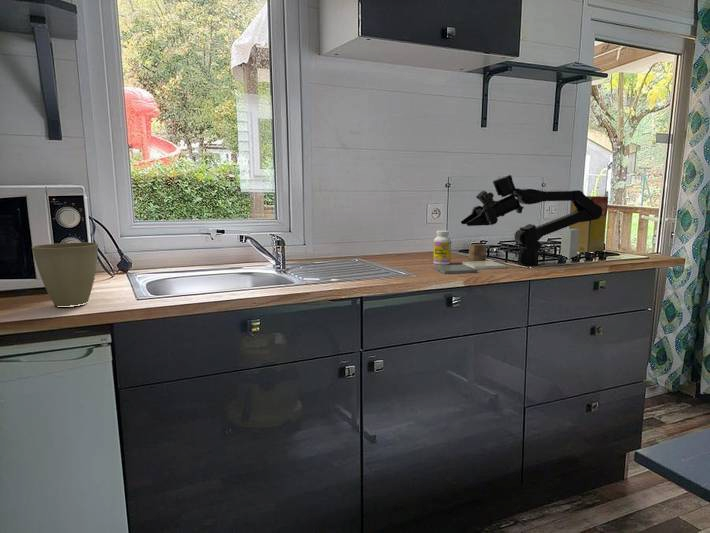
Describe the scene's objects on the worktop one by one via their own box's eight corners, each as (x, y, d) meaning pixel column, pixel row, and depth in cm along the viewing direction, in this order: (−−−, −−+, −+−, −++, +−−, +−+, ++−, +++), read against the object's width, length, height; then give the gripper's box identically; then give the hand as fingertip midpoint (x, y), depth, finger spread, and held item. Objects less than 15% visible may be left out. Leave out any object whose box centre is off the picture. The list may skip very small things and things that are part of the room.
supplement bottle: (431, 264, 191) (431, 231, 189) (436, 262, 196) (437, 230, 194) (447, 265, 187) (448, 232, 185) (452, 263, 193) (453, 230, 191)
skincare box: (567, 257, 206) (569, 228, 204) (577, 258, 202) (579, 229, 200) (559, 258, 202) (561, 229, 200) (569, 259, 199) (571, 230, 197)
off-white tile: (490, 263, 192) (491, 260, 192) (505, 267, 180) (505, 265, 180) (461, 264, 190) (461, 261, 190) (474, 269, 178) (474, 266, 178)
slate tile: (464, 267, 183) (464, 264, 183) (477, 272, 171) (477, 269, 171) (433, 268, 181) (433, 265, 181) (444, 273, 169) (444, 271, 169)
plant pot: (105, 307, 127) (99, 245, 124) (37, 314, 119) (29, 250, 117) (102, 296, 139) (96, 240, 137) (40, 302, 132) (33, 244, 130)
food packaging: (605, 253, 215) (609, 196, 211) (587, 254, 212) (591, 196, 208) (583, 250, 227) (586, 195, 223) (566, 251, 225) (569, 196, 221)
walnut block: (480, 261, 198) (480, 243, 197) (485, 262, 193) (486, 245, 192) (468, 261, 197) (469, 244, 196) (473, 263, 193) (474, 245, 191)
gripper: (487, 187, 192) (451, 203, 193) (502, 187, 173) (461, 204, 174) (498, 213, 193) (461, 229, 194) (513, 215, 175) (473, 233, 176)
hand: (464, 223), depth 185 cm, fingers open, 9 cm apart
